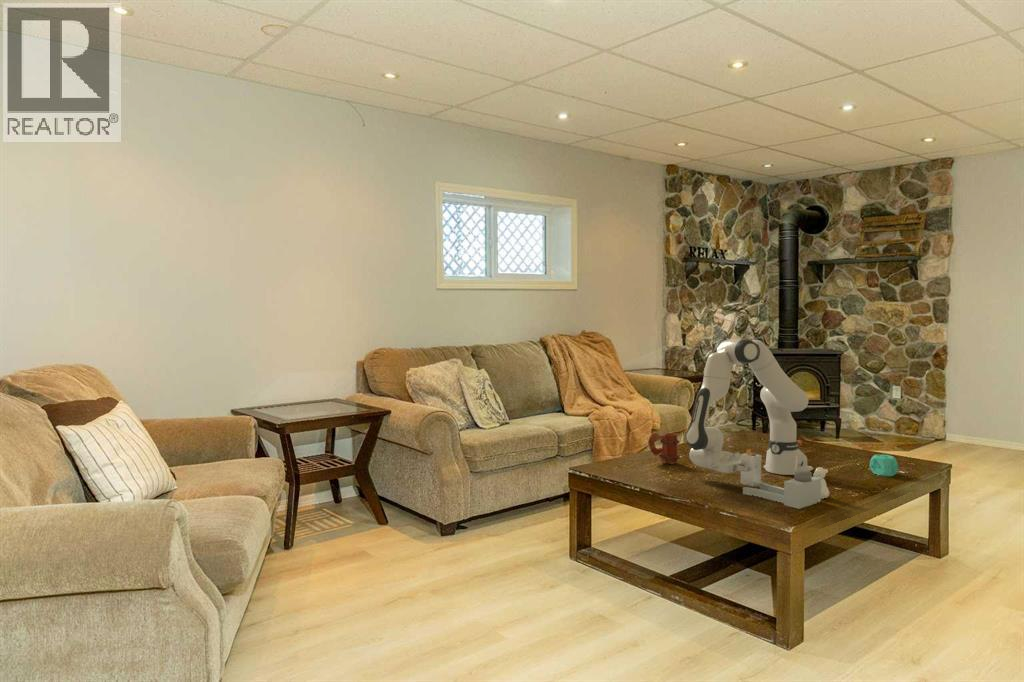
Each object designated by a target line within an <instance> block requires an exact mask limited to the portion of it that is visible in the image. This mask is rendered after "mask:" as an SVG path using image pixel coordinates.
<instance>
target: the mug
mask: <svg viewBox="0 0 1024 682" xmlns="http://www.w3.org/2000/svg"><path fill="white" fill-rule="evenodd" d="M659 440H660V441H659ZM657 441H659V442H660V443H661V447H660V448H657V447H656V446H655V442H657ZM679 444H680V441H679V439H678V434H677V433H673V432H672V433H670V432H666V433H663V434H660V433H658V432H657V431H654V432H652V433H651V434H650V435H649V436H648V447H649V450H650V452H651V453H652V454H653V455H654V456H658V455H659V458H660V462H661V463H663V464H665V463H669V464H673V463H676V464H677V463H678V460H679V459H680V456H679V454H678V445H679ZM669 464H668V465H669ZM673 465H674V464H673Z"/></svg>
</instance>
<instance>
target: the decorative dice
mask: <svg viewBox="0 0 1024 682" xmlns="http://www.w3.org/2000/svg"><path fill="white" fill-rule="evenodd" d="M869 468H870V470H871V472H872V474H874V475H875V474H877V475H876V476H879V475H881V476H880V477H894V476H895V475H896V474H897V472H898V471H899V470H898V468H899V463H898V460H897V459H896V458H895V457H894V456H893V455H890V454H889V455H888V454H874V455H873V456H872V457H871V459H870V461H869Z"/></svg>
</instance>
